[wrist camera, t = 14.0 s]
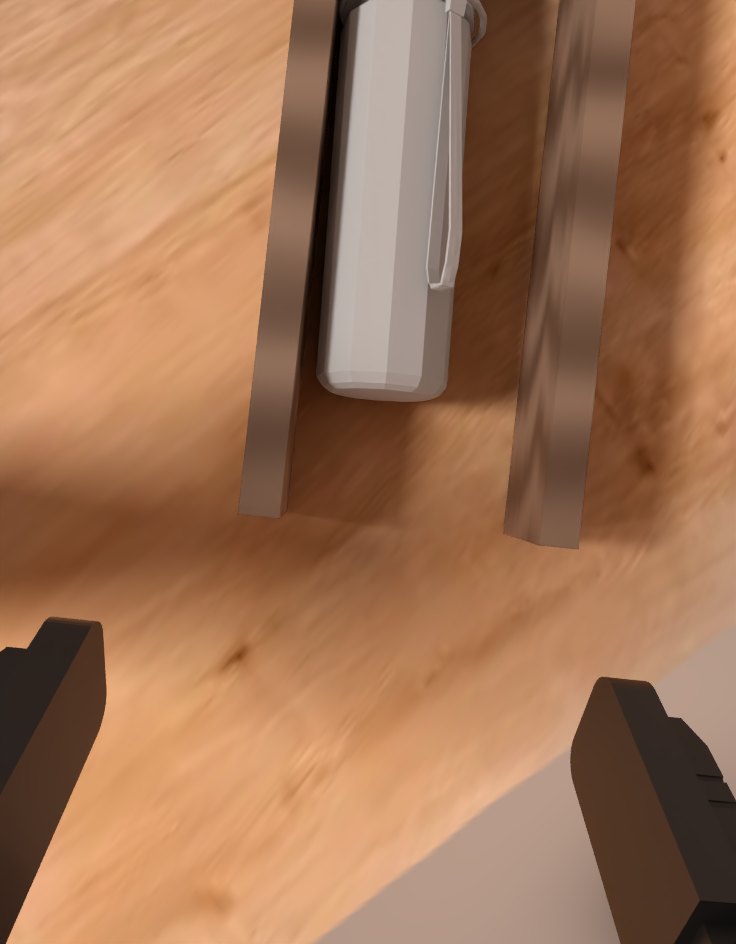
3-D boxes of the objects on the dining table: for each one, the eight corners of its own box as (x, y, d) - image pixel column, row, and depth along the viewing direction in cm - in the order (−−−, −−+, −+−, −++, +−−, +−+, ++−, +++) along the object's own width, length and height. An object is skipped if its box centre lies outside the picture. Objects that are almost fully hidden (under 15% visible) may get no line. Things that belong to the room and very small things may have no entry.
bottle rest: (535, 536, 42) (578, 549, 35) (252, 507, 41) (237, 514, 34) (597, -54, 42) (652, -159, 35) (318, -98, 41) (317, -216, 34)
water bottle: (285, 390, 39) (318, -57, 39) (401, 406, 43) (430, 2, 43) (375, 377, 31) (416, -183, 31) (506, 398, 35) (541, -95, 35)
